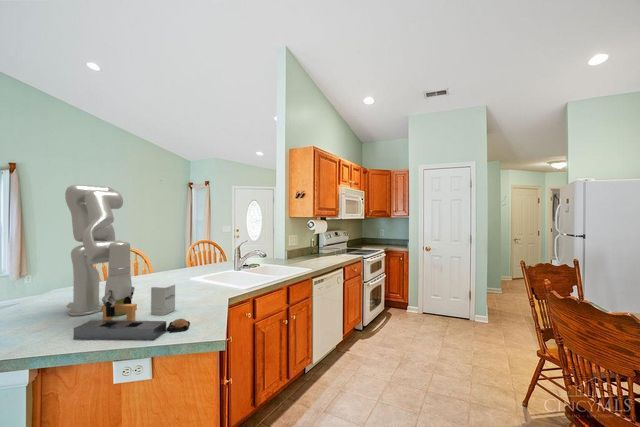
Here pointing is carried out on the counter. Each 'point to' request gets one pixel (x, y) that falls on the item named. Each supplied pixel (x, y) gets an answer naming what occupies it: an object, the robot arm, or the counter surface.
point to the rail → (120, 330)
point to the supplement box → (162, 299)
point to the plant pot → (119, 303)
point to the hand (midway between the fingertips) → (119, 312)
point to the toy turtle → (178, 326)
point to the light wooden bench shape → (122, 308)
